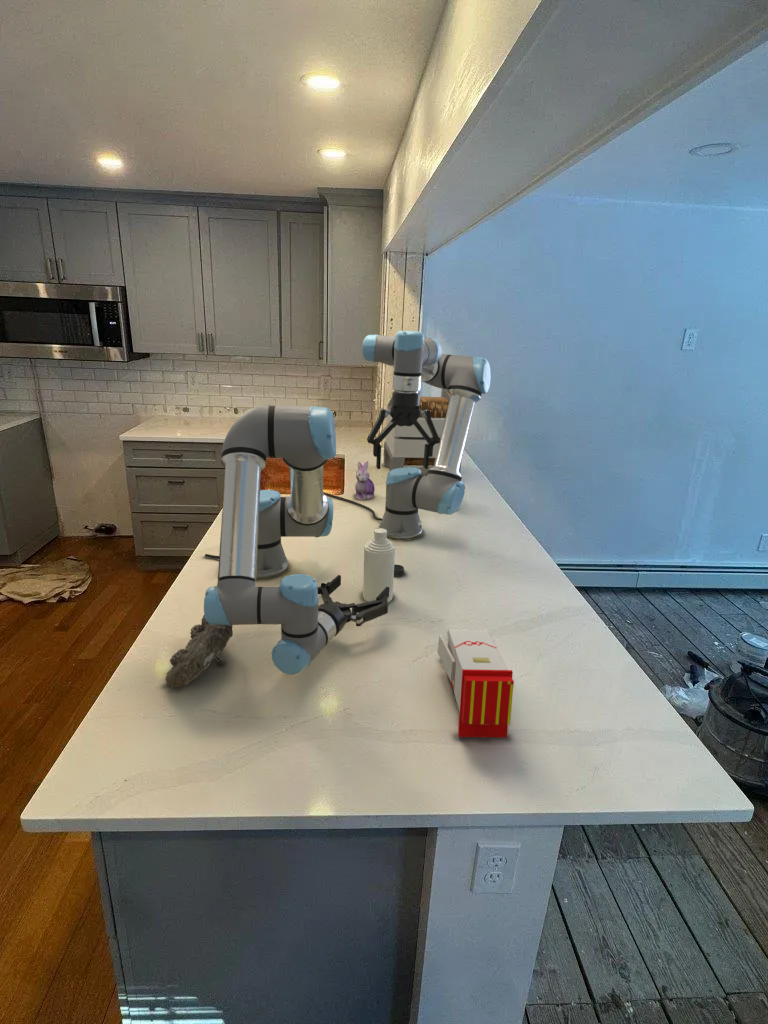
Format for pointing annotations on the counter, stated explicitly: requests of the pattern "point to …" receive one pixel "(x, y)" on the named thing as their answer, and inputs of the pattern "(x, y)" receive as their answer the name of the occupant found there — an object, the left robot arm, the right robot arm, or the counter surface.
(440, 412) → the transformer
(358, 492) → the figurine
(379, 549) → the bottle
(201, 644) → the fossil
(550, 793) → the counter surface
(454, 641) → the toy
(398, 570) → the cap
